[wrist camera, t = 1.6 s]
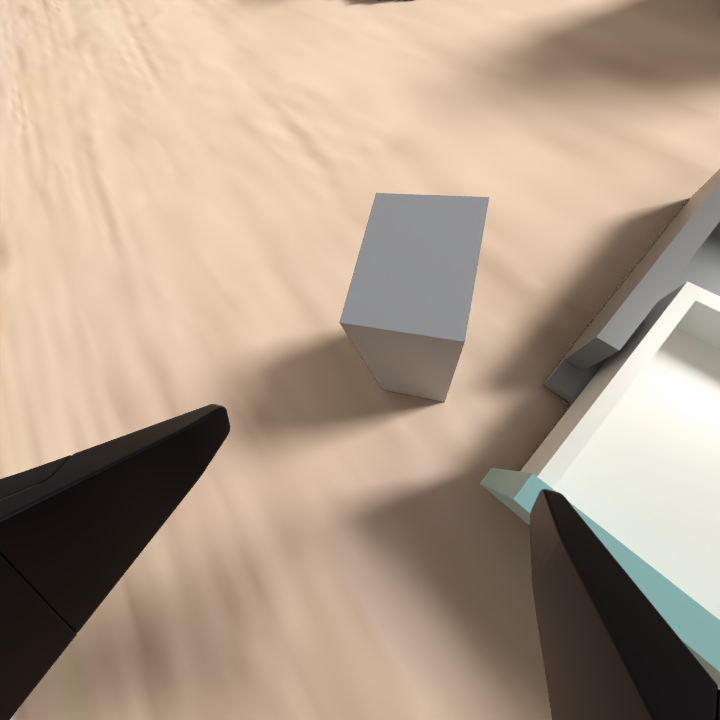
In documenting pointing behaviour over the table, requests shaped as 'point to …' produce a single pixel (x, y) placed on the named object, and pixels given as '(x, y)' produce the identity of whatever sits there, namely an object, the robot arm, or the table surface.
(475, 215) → the block
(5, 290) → the table surface
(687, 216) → the grey storage bin
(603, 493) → the white drawer
